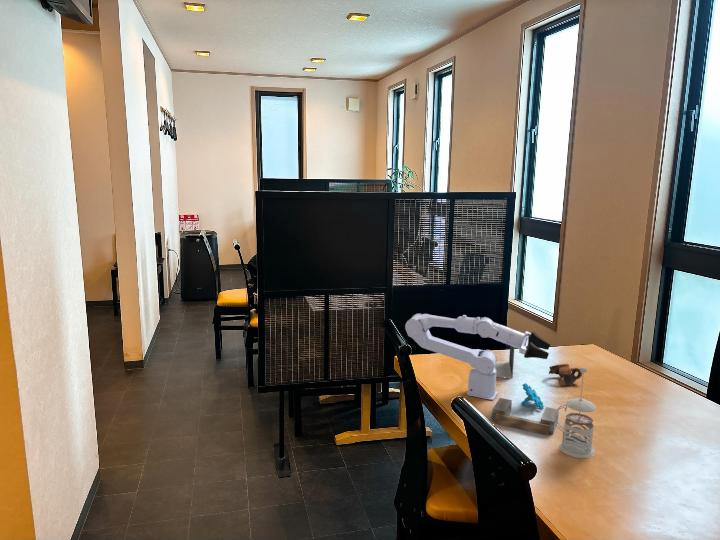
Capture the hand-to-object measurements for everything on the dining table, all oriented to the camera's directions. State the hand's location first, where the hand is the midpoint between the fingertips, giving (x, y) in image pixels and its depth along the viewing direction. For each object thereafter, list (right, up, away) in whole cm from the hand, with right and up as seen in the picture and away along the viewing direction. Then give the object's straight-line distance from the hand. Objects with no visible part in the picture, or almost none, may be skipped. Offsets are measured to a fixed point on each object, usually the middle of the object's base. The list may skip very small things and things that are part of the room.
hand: (548, 351), depth 180 cm
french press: (-3, -24, -28) cm, 37 cm away
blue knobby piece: (-5, -19, +2) cm, 20 cm away
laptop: (-9, -14, +36) cm, 40 cm away
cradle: (-12, -21, -11) cm, 26 cm away
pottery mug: (+15, -16, +23) cm, 32 cm away
